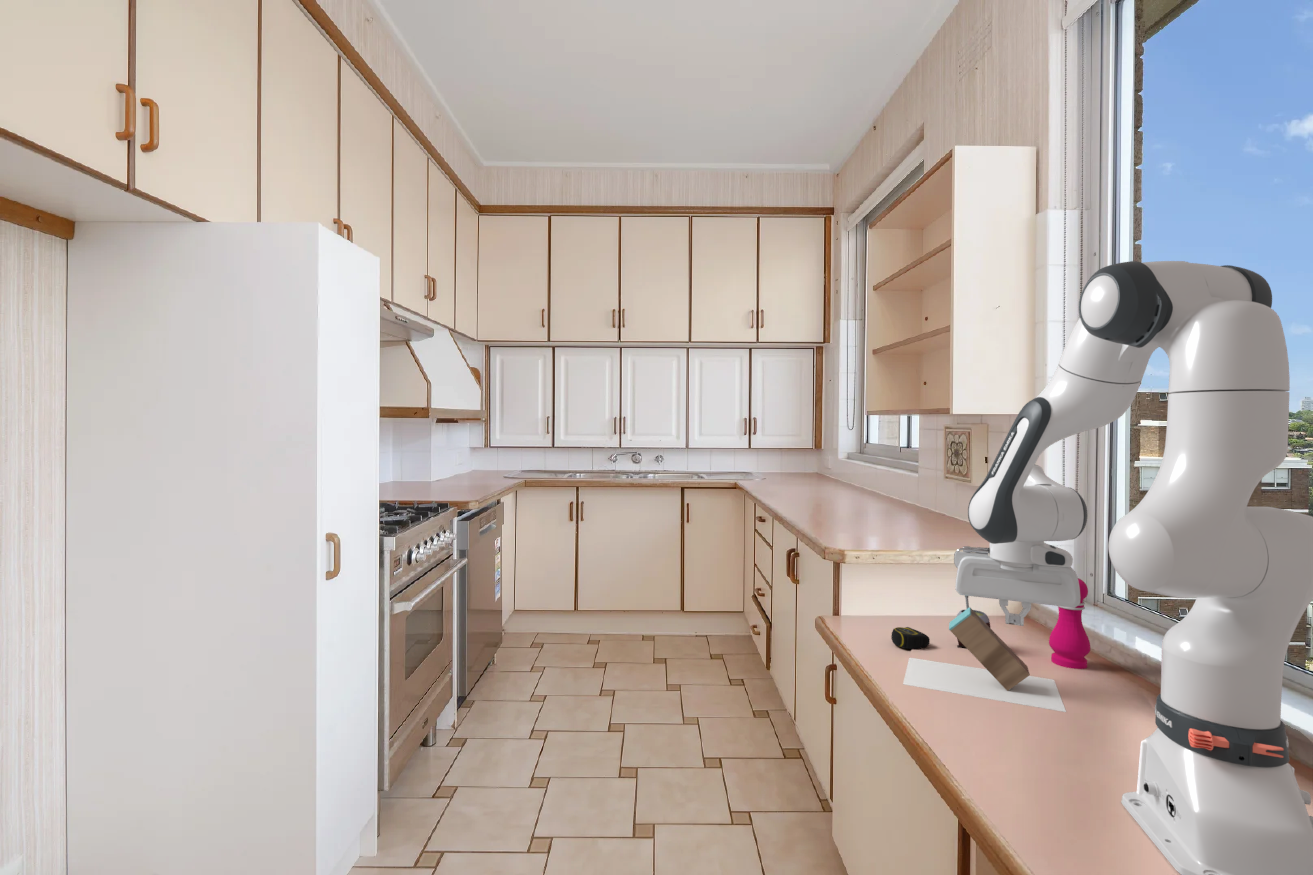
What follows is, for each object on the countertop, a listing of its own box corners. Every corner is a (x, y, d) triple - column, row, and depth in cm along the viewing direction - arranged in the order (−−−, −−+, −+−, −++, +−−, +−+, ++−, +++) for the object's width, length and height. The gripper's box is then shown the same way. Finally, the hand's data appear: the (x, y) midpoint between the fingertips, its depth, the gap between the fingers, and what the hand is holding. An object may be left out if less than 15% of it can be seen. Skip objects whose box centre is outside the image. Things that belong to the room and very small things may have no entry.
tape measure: (931, 650, 141) (931, 633, 141) (905, 653, 139) (905, 636, 139) (909, 641, 148) (910, 624, 147) (884, 643, 145) (885, 627, 145)
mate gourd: (982, 643, 146) (983, 578, 146) (997, 655, 138) (998, 586, 138) (948, 642, 146) (949, 576, 146) (961, 654, 139) (962, 585, 138)
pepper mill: (1093, 665, 133) (1095, 569, 133) (1086, 674, 127) (1088, 574, 127) (1052, 656, 138) (1054, 563, 138) (1044, 665, 132) (1046, 568, 132)
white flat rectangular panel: (1066, 714, 109) (1066, 711, 109) (902, 686, 120) (903, 684, 120) (1053, 682, 123) (1054, 679, 123) (909, 659, 135) (909, 657, 135)
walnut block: (1029, 675, 116) (969, 613, 120) (1007, 690, 118) (948, 629, 122) (1027, 666, 121) (969, 606, 125) (1005, 681, 122) (949, 622, 126)
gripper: (954, 547, 121) (952, 620, 121) (1083, 558, 112) (1081, 637, 112) (954, 542, 127) (953, 612, 127) (1077, 552, 118) (1075, 627, 118)
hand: (1014, 624), depth 119 cm, fingers closed
